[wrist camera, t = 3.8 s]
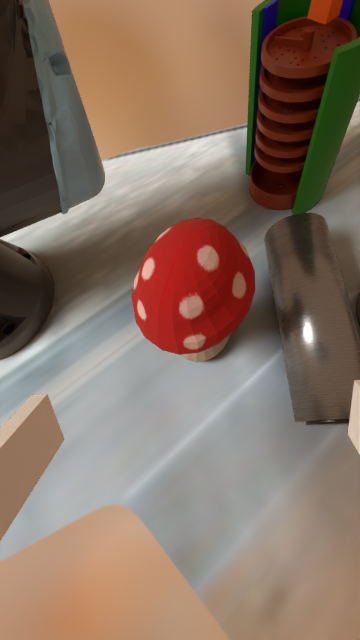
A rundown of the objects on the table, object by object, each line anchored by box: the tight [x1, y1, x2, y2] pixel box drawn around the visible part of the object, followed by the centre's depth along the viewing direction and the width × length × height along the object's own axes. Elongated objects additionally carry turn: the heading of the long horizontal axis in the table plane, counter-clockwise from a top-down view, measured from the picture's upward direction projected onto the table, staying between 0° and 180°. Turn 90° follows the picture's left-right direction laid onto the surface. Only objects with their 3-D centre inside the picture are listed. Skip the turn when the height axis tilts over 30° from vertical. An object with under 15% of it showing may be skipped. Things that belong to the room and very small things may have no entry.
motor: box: [246, 0, 360, 215], centre depth 26 cm, size 10×9×20 cm
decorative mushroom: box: [132, 218, 255, 362], centre depth 22 cm, size 10×9×15 cm
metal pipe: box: [264, 213, 360, 425], centre depth 25 cm, size 6×18×6 cm, turn 1°
